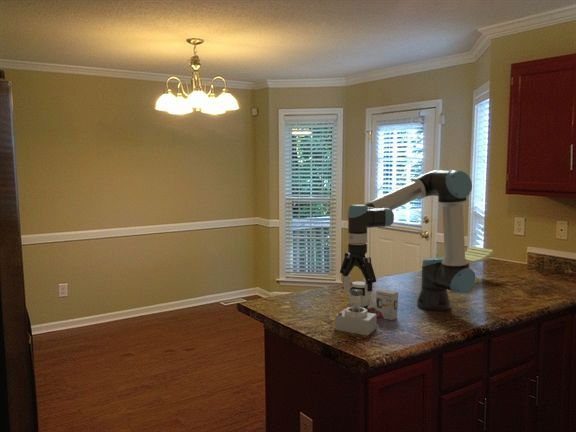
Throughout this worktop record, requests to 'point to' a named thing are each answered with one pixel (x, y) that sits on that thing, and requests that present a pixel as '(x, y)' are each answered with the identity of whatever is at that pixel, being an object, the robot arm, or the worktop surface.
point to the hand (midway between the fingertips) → (357, 295)
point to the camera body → (355, 321)
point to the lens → (356, 300)
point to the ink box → (386, 304)
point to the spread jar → (362, 287)
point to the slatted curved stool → (472, 256)
